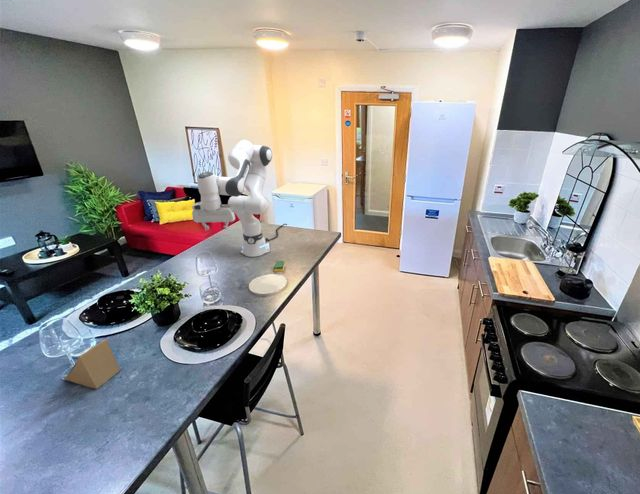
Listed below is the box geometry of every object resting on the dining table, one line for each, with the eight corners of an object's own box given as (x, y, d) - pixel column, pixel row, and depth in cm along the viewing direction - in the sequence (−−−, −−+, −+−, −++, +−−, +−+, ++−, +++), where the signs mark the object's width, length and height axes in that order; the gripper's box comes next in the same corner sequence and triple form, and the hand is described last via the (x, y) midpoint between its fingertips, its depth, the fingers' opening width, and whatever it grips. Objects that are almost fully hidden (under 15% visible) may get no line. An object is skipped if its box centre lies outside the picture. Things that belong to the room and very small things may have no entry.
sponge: (276, 267, 178) (276, 260, 176) (285, 266, 178) (284, 260, 177) (274, 273, 171) (273, 267, 169) (283, 273, 171) (282, 266, 169)
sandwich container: (89, 360, 109) (74, 330, 103) (121, 369, 106) (107, 338, 100) (63, 379, 102) (44, 347, 95) (96, 389, 98) (79, 356, 92)
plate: (253, 277, 167) (253, 274, 166) (289, 275, 169) (288, 273, 169) (245, 297, 149) (244, 294, 148) (284, 295, 151) (284, 292, 151)
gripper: (234, 202, 154) (238, 226, 160) (193, 203, 151) (199, 227, 157) (230, 206, 148) (235, 230, 154) (188, 206, 146) (194, 231, 151)
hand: (216, 229), depth 155 cm, fingers open, 8 cm apart
